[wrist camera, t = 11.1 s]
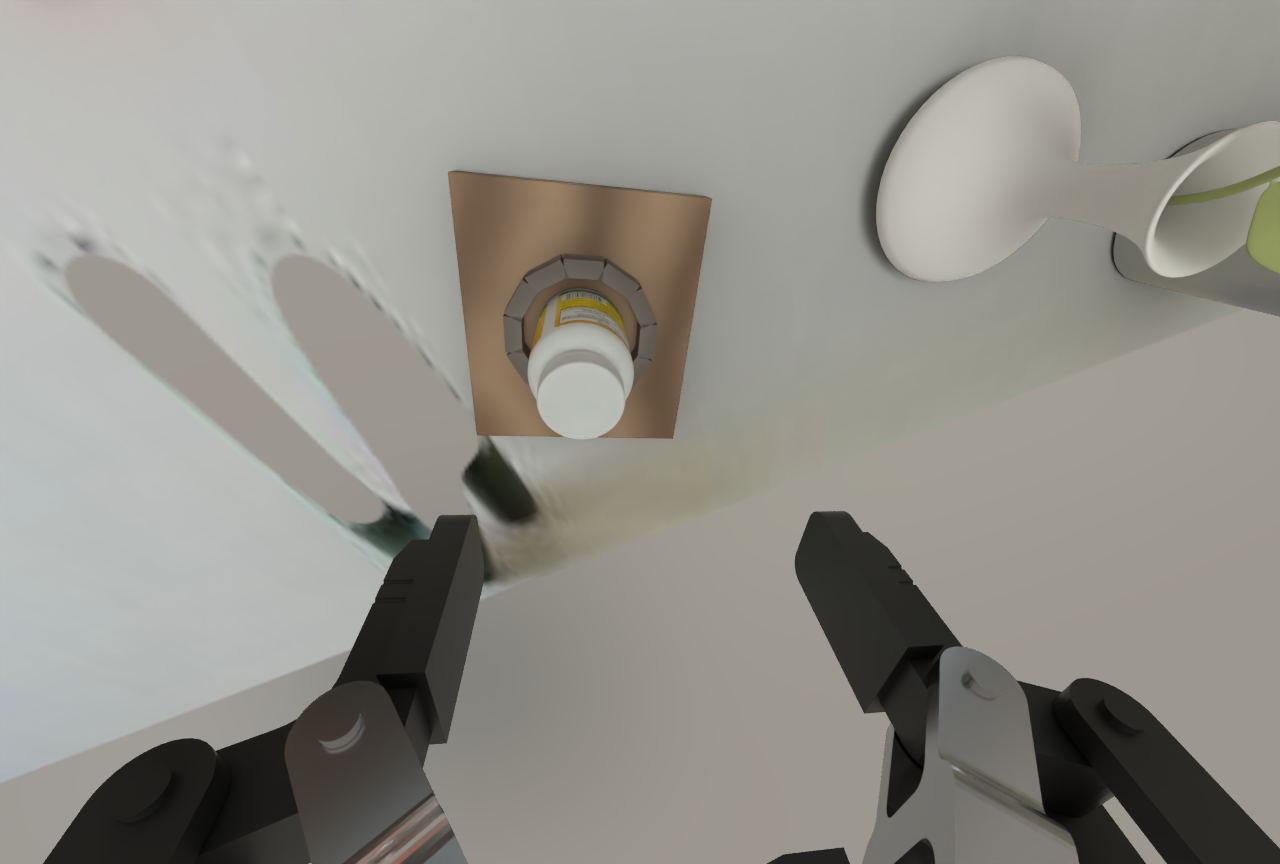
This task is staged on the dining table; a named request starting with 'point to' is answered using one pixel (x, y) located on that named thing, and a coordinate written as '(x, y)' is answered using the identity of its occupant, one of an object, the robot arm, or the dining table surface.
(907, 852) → the robot arm
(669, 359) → the collar board
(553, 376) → the supplement bottle
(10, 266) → the dining table surface
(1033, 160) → the flower in vase
